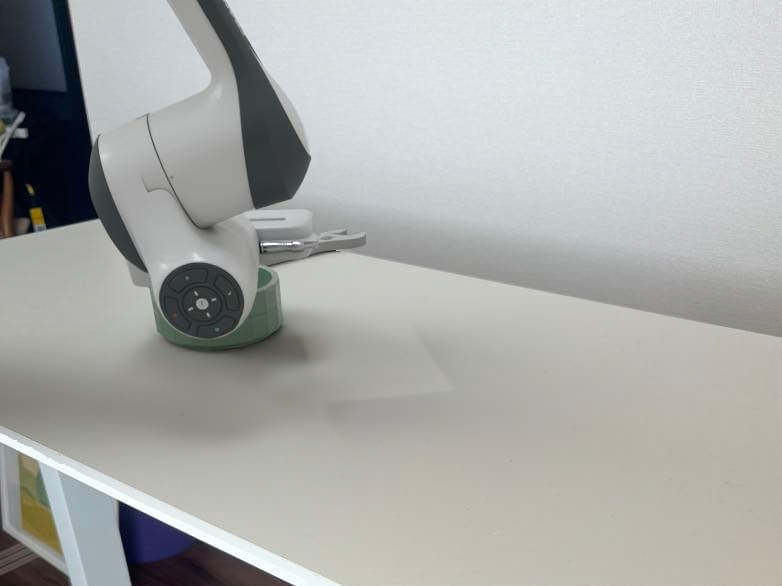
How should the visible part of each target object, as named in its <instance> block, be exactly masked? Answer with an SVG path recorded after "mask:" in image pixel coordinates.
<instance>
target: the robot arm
mask: <svg viewBox="0 0 782 586" xmlns="http://www.w3.org/2000/svg"><path fill="white" fill-rule="evenodd" d="M166 2H167V4H168V5H169V7H170V8H171V10H172V11H173V14H174V16H175V17H176V18H177V21H178V22H179V23H180V25H181V27H182V28H183V30H184V32H185V33H186V35H187V36H188V38H189V40H190V41H191V43H192V45H193V46H194V48H195V50H196V51H197V53H198V55H199V56H200V57H201V59H202V61H203V63H204V64H205V66H206V67H207V70H208V71H209V72H210V82H209V84H208V85H207V87H206V88H204V89H203V90H201V91H199V92H197V93H195V94H192V95H190V96H188V97H186V98H183V99H180V100H178V101H176V102H174V103H171V104H170V105H167V106H165V107H163V108H160V109H158V110H156V111H152V112H151V113H150V112H148V113H146V114H143V115H141V116H138V117H136V118H133V119H131V120H129V121H126V122H124V123H122V124H119V125H118V126H115V127H113V128H112V129H109V130H107V131H105V132H103V133H99V134H98V135H97V137H96V139H95V140H94V143H93V145H92V149H91V153H90V159H89V168H88V189H89V193H90V198H91V202H92V205H93V207H94V209H95V212H96V214H97V216H98V219H99V220H100V223H101V224H102V227H103V229H104V230H105V232H106V234H107V235H108V237H109V239H110V241H111V242H112V243H113V244H114V247H116V249H117V250H118V251H119V253H120V254H121V255H122V257H123V258H124V259H125V264H126V267H127V269H128V272H129V276H130V279H131V282H132V285H134V286H136V287H141V288H153V293H154V297H155V301H156V304H157V306H158V309H159V310H160V312H161V314H162V316H163V317H164V319H165V320H166V321H167V323H168V324H169V325H170V326H171V327H173V328H174V329H175V330H177V331H178V332H180V333H182V334H184V335H187V336H189V337H193V338H197V339H216V338H220V337H223V336H226V335H228V334H230V333H232V332H233V331H235V330H236V329H237V328H238V327H239V326H240V325H241V324H242V323H243V322H244V321H245V320H246V318H247V317H248V315H249V313H250V311H251V309H252V307H253V304H254V301H255V296H256V292H257V284H258V270H259V261H282V260H287V261H297V260H302V259H305V258H307V257H309V256H311V255H310V253H311V252H312V250H313V248H317V247H318V244H319V239H318V236H319V235H317V234H316V233H315V225H314V213H313V212H312V211H311V210H310V209H309V210H308V209H303V208H294V209H293V208H292V209H264V208H267V207H269V206H273V205H276V204H279V203H283V202H287V201H290V200H292V199H293V198H294V197H295V195H296V194H297V192H298V191H299V189H300V187H301V185H302V184H303V182H304V180H305V178H306V175H307V173H308V170H309V167H310V165H311V161H312V156H311V153H310V152H311V150H310V143H309V137H308V134H307V131H306V128H305V126H304V124H303V121H302V118H301V117H300V115H299V113H298V111H297V109H296V107H295V106H294V104H293V103H292V101H291V100H290V98H289V97H288V95H287V94H286V93H285V91H284V90H283V89H282V87H281V86H280V85H279V83H278V82H277V81H276V80H275V79H274V78H273V76H272V75H271V74H270V73H269V71H268V70H267V68H266V67H265V66H264V64H263V62H262V61H261V59H260V57H259V56H258V53H256V51H255V49H254V48H253V46H252V44H251V42H250V40H249V39H248V38H247V35H246V34H245V32H244V30H243V28H242V27H241V25H240V23H239V22H238V20H237V18H236V16H235V15H234V12H233V10H232V9H231V8H230V6H229V4H228V2H227V1H226V0H166ZM254 209H255V210H254ZM260 209H261V210H260Z"/></svg>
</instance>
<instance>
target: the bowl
mask: <svg viewBox="0 0 782 586" xmlns="http://www.w3.org/2000/svg"><path fill="white" fill-rule="evenodd" d="M149 293H150V294H149V295H150V298H151V305H152V309H153V315H154V320H155V326H156V332H157V333H158V335H160V336H161V337H162V338H163V339H165V340H168V341H170V342H172V343H173V344H175V345H177V346H180V347H184V348H188V349H195V350H207V351H208V350H209V351H210V350H211V351H213V350H228V349H235V348H236V349H237V348H240V347H245V346H246V347H247V346H249V345H252V344H255V343H258V342H260V341H263V340H264V339H267V338H269V336H271V335H272V334H273V333H274V332H275V331H277V330H279V329H280V327H281V325H282V324H283V322H284V317H283V316H284V315H283V305H282V304H283V303H282V294H281V282H280V277H279V274H278V271H276V270H274V269H273V268H271V267H270V266H263V265H260V264H259V270H258V284H257V292H256V296H255V301H254V304H253V307H252V309H251V311H250V313H249V315H248V317H247V318H246V320H245V321H244V322H243V323H242V324H241V325H240V326H239V327H238V328H237V329H236V330H235V331H233V332H232V333H230V334H228V335H226V336H223V337H220V338H216V339H197V338H193V337H189V336H187V335H184V334H182V333H180V332H178V331H177V330H175V329H174V328H173V327H171V326H170V325H169V324H168V323H167V321H166V320H165V319H164V317H163V316H162V314H161V312H160V310H159V309H158V306H157V304H156V301H155V297H154V293H153V288H149Z"/></svg>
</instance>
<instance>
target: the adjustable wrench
mask: <svg viewBox="0 0 782 586" xmlns="http://www.w3.org/2000/svg"><path fill="white" fill-rule="evenodd" d="M317 236H318V239H319V244H318V247H317V248H313V250H312V252H311V253H310V255H309V256H311V255H314V254H318V253H322V252H328V251H329V252H330V251H338V250H350V249H357V248H361V247H364V246H365V245H366V244H367V233H366V231H360V232H359V233H356V234H350V235H348V230H347V229H345V228H343V229H341V228H340V229H333V230H328V231H324V232H319V235H317ZM287 261H288V260H282V261H259V264H260V265H263V266H267V267H269V266H272V265H276V264H279V263H283V262H287Z"/></svg>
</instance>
